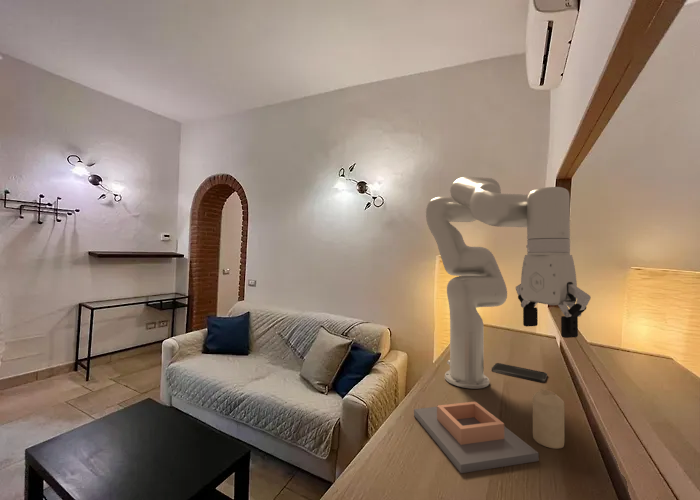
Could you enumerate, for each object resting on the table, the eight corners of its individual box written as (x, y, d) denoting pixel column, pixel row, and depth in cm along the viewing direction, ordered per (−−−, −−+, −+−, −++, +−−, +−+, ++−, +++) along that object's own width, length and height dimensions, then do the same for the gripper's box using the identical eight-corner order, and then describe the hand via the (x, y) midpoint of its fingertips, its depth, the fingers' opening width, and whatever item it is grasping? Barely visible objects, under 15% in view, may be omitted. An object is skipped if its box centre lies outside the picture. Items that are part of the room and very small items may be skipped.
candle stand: (414, 415, 75) (414, 396, 75) (474, 408, 78) (474, 390, 78) (460, 473, 55) (460, 447, 55) (538, 461, 59) (538, 436, 59)
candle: (569, 450, 62) (569, 399, 62) (538, 447, 63) (538, 396, 63) (557, 434, 67) (557, 387, 67) (528, 431, 68) (528, 385, 68)
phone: (544, 380, 94) (490, 368, 103) (544, 384, 94) (490, 372, 103) (547, 372, 100) (496, 362, 109) (547, 376, 100) (496, 365, 109)
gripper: (503, 248, 73) (503, 323, 73) (570, 247, 56) (571, 343, 56) (531, 249, 75) (531, 321, 74) (604, 247, 58) (605, 341, 57)
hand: (548, 331), depth 65 cm, fingers open, 9 cm apart
